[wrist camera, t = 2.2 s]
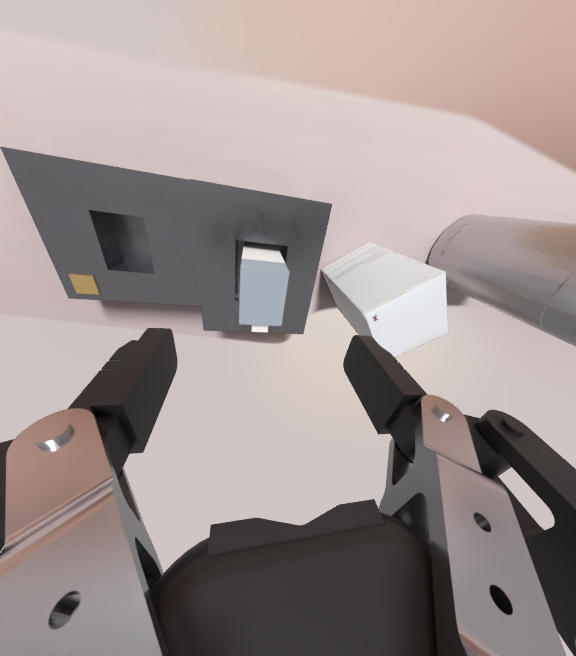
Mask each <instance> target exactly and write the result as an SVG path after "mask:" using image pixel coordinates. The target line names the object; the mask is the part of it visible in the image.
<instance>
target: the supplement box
mask: <svg viewBox="0 0 576 656" xmlns="http://www.w3.org/2000/svg"><path fill="white" fill-rule="evenodd" d="M321 271H322V273H323V275H324V278H325V280H326V282H327V284H328V287H329V289H330V291H331V294H332V296H333V299H334V301H335V303H336V305H337V308H338V309H339V310H340V312H341V313H342V314H343V315H344V317H345V318H346V319H347V320H348V322H349V323H350V324H351V326H352V327H353V328H354V329H355V331H356V332H357V333H358V334H359V335H367V336H372V337H373V338H374V339H375V340H376V341H377V343H378V344H379V345H380V346H381V347H383V348H384V349H385V350H387V351H388V352H390V353H391V354H392V355H393V356H394V358H395V357H397V356H400V355H402V354H404V353H406V352H408V351H410V350H412V349H414V348H416V347H419V346H421V345H423V344H425V343H427V342H429V341H431V340H434V339H436V338H438V337H440V336H442V335H444V334H446V333H448V316H447V299H446V272H445V271H443V270H440V269H437V268H435V267H432V266H429V265H427V264H424V263H422V262H419V261H417V260H414V259H411V258H409V257H406V256H404V255H401V254H399V253H396V252H394V251H391V250H388V249H386V248H383V247H381V246H378V245H375V244H373V243H370V242H368V243H366V244H365V245H363V246H361V247H359V248H357V249H356V250H354V251H352V252H350V253H349V254H347V255H345V256H343V257H341V258H340V259H338V260H336V261H334V262H333V263H331V264H329V265H327V266H326V267H324V268H322V269H321Z"/></svg>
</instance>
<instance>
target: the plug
mask: <svg viewBox="0 0 576 656" xmlns="http://www.w3.org/2000/svg"><path fill="white" fill-rule="evenodd" d="M288 279H289V270H288V268H287V266H286V264H285V262H284V260H283V258H282V256H281V254H280V252H279V250H278V247H277V245H269V244H261V243H253V242H245V241H244V246H243V253H242V260H241V267H240V306H239V324H246V325H252V332H268V326H281V325H282V319H283V312H284V305H285V299H286V292H287V286H288Z"/></svg>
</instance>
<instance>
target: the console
mask: <svg viewBox="0 0 576 656" xmlns="http://www.w3.org/2000/svg"><path fill="white" fill-rule="evenodd" d="M0 148H1V150H2V152H3V154H4V156H5V159H6V161H7V163H8V165H9V168H10V170H11V172H12V174H13V176H14V179H15V181H16V183H17V185H18V187H19V190H20V192H21V194H22V196H23V198H24V201H25V203H26V205H27V207H28V209H29V212H30V214H31V216H32V218H33V220H34V223H35V225H36V227H37V229H38V232H39V234H40V236H41V238H42V240H43V243H44V245H45V247H46V249H47V251H48V254H49V256H50V258H51V260H52V262H53V265H54V267H55V269H56V271H57V273H58V276H59V278H60V280H61V282H62V284H63V287H64V289H65V291H66V293H67V296H68V298H73V299H89V300H106V301H123V302H140V303H156V304H173V305H190V306H202V317H203V329H204V330H206V331H233V332H252V325H246V324H239V306H240V267H241V260H242V253H243V246H244V241H245V242H253V243H261V244H269V245H277V247H278V250H279V252H280V254H281V256H282V258H283V260H284V262H285V264H286V266H287V268H288V270H289V279H288V286H287V292H286V299H285V305H284V312H283V319H282V325H281V326H268V332H260V333H286V334H303V333H304V328H305V324H306V319H307V315H308V310H309V306H310V301H311V297H312V292H313V288H314V283H315V279H316V274H317V270H318V265H319V261H320V256H321V252H322V247H323V243H324V238H325V234H326V230H327V225H328V221H329V216H330V212H331V207H332V204H329V203H323V202H318V201H312V200H306V199H301V198H295V197H289V196H283V195H278V194H272V193H266V192H261V191H255V190H249V189H244V188H238V187H232V186H227V185H221V184H215V183H210V182H204V181H198V180H193V179H191V180H187V179H182V178H176V177H170V176H165V175H159V174H153V173H148V172H142V171H136V170H130V169H125V168H119V167H113V166H108V165H102V164H96V163H91V162H85V161H79V160H73V159H68V158H62V157H56V156H51V155H45V154H39V153H33V152H28V151H22V150H16V149H11V148H5V147H0Z"/></svg>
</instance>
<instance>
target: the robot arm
mask: <svg viewBox="0 0 576 656" xmlns="http://www.w3.org/2000/svg"><path fill="white" fill-rule="evenodd" d="M428 265H429V266H432V267H435V268H437V269H440V270H443V271H445V272H446V286H448V287H450V288H452V289H454V290H456V291H458V292H460V293H463V294H465V295H467V296H469V297H471V298H473V299H475V300H477V301H480V302H482V303H484V304H486V305H488V306H490V307H492V308H495V309H497V310H499V311H501V312H503V313H505V314H507V315H509V316H512V317H514V318H516V319H518V320H520V321H522V322H524V323H527V324H529V325H531V326H533V327H535V328H537V329H539V330H541V331H544V332H546V333H548V334H550V335H553V336H555V337H557V338H559V339H561V340H563V341H566V342H567V343H570V344H572V345H574V346H576V224H571V223H560V222H549V221H539V220H528V219H517V218H508V217H496V216H485V215H471V216H467V217H464V218H462V219H460V220H458V221H456V222H455V223H453V224H452V225H451V226H450V227H448V228H447V229H446V230H445V231H444V232H443V233H442V234H441V236H440V237H439V238H438V240H437V241H436V243H435V244H434V246H433V248H432V250H431V253H430V256H429V261H428ZM343 366H344V371H345V373H346V375H347V377H348V379H349V381H350V382H351V384H352V386H353V388H354V390H355V392H356V394H357V395H358V397H359V399H360V401H361V403H362V405H363V407H364V408H365V410H366V412H367V414H368V416H369V418H370V419H371V421H372V423H373V425H374V427H375V429H376V431H377V433H378V434H391V436H392V437H393V438H392V440H391V441H390V445H389V456H388V457H389V458H388V468H387V479H386V488H385V492H384V495H383V498H382V500H381V502H380V506H379V509H378V507H377V505H376V502H375V500H374V499H372V500H366V501H360V502H353V503H347V504H341V505H338V506H336V507H335V508H333V509H331V510H329V511H327V512H326V513H324V514H322V515H321V516H319V517H317V518H315V519H314V520H312V521H310V522H309V523H307V524H305V525H301V526H298V525H292V524H288V523H282V522H277V521H271V520H266V519H261V518H251V519H245V520H238V521H232V522H226V523H220V524H213V525H211V528H210V537H209V538H207V539H205V540H203V541H201V542H199V543H198V544H197V545H195V546H194V547H192V548H191V549H189V550H188V551H187V552H185V553H184V554H183V555H182V556H181V557H180V558H178V559H177V560H176V561H175V562H174V563H173V564H172V565H171V566H170V567H169V568H168V569H167V570H166V572H164V573H163V570H162V567H161V565H160V562H159V559H158V557H157V554H156V551H155V549H154V546H153V544H152V541H151V539H150V537H149V535H148V533H147V531H146V528H145V526H144V523H143V521H142V518H141V515H140V512H139V509H138V507H137V504H136V501H135V498H134V495H133V493H132V490H131V487H130V485H129V482H128V479H127V476H126V473H125V471H124V468H123V466H124V464H125V462H126V459H127V457H128V455H129V454H131V453H143V452H144V449H145V447H146V444H147V442H148V439H149V437H150V435H151V432H152V430H153V427H154V425H155V422H156V420H157V417H158V415H159V412H160V410H161V407H162V405H163V403H164V400H165V398H166V395H167V393H168V390H169V388H170V386H171V383H172V381H173V378H174V376H175V373H176V370H177V355H176V349H175V343H174V338H173V333H172V330H171V329H166V328H148V329H147V330H146V331H145V332H144V333H143V335H142V336H141V338H140V339H139V340H138V341H136V340H132V341H130V342H128V343H127V344H125V345H124V346H122V347H120V348H119V349H118V350H117V351H116V352H115V353H114V355H113V356H112V357H111V358H110V359H109V362H107V363H106V364H105V365H104V366H103V368H102V371H99V372H98V373H97V375H96V376H95V377H94V378H93V380H92V381H91V382H90V383H89V384H88V385H87V387H86V388H85V389H84V390H83V391H82V393H81V394H80V395H79V396H78V397H77V398H76V400H75V401H74V402H73V403H72V404H71V405H70V407H69V408H68V409H67V410H62V411H59V412H56V413H53V414H50V415H48V416H46V417H44V418H42V419H40V420H38V421H37V422H35V423H33V424H32V425H30V426H29V427H28V428H26V429H25V430H23V431H22V432H21V433H20V434H19V435H18V436H17V437H16V438H15V439H13V440H9V441H6V442H2V443H0V551H1V549H2V548H3V546H4V548H3V550H2V552H1V553H0V656H566V654H565V651H564V648H563V645H562V643H561V640H560V637H559V635H558V633H559V634H560V635H561V637H562V639H563V640H564V642H565V643H566V645H567V646H568V648H569V649H570V650H571V652H572V653H573V655H574V656H576V469H575V468H574V467H572V466H571V465H570V464H569V463H568V462H567V461H566V460H565V459H563V458H562V457H561V456H560V455H559V454H558V453H557V452H555V451H554V450H553V449H552V448H551V447H550V446H549V445H547V444H546V443H545V442H544V441H543V440H542V439H541V438H539V437H538V436H537V435H536V434H535V433H534V432H533V431H531V430H530V429H529V428H528V427H527V426H526V425H524V424H523V423H522V422H520V421H519V420H517V419H516V418H514V417H512V416H510V415H508V414H506V413H504V412H501V411H497V410H489V411H487V412H486V413H485V414H484V415H483V416H482V417H481V418H476V417H472V416H468V415H463V414H462V412H461V411H460V410H459V409H458V408H457V407H455V406H454V405H453V404H451V403H450V402H449V401H447V400H445V399H443V398H440V397H438V396H435V395H427V394H426V392H425V391H424V390H423V389H422V388H421V387H420V386H419V385H418V383H417V382H416V381H415V380H414V379H413V378H412V377H411V376H410V374H409V373H407V371H406V370H404V369H403V367H402V366H401V364H400V363H398V362H397V360H396V359H395V358H394V356H393V355H392V354H391V353H390V352H388V351H387V350H385V349H384V348H383V347H381V346H380V345H379V344H378V343H377V341H376V340H375V339H374V338H373V337H372V336H367V335H355V336H353V338H352V340H351V342H350V345H349V348H348V350H347V353H346V356H345V358H344V363H343ZM511 467H512V468H513V469H514V470H515V471H516V472H517V473H518V474H519V475H520V476H521V478H522V479H523V480H524V481H525V482H526V483H527V484H528V485H529V486H530V487H531V489H532V490H533V491H534V492H536V494H537V495H538V496H539V497H540V498H541V499H542V500H543V502H544V503H545V504H546V505H547V506H548V507H549V509H550V510H551V512H552V514H553V516H554V519H555V524H554V526H553V527H552V528H550V529H547V530H544V529H542V528H541V527H540V526H539V525H538V524H537V523H536V521H535V520H534V519H533V518H532V516H531V515H530V514H529V513H528V512H527V510H526V509H525V508H524V507H523V506H522V504H521V503H520V502H519V501H518V500H517V499H516V497H515V496H514V495H513V494H512V492H511V491H510V490H509V489H508V488H507V487H506V485H505V484H504V483H503V482H502V481H501V479H500V478H499V477H498V476H499V475H500V474H502V473H503V472H505V471H506V470H508V469H509V468H511ZM557 631H558V632H557Z"/></svg>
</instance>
